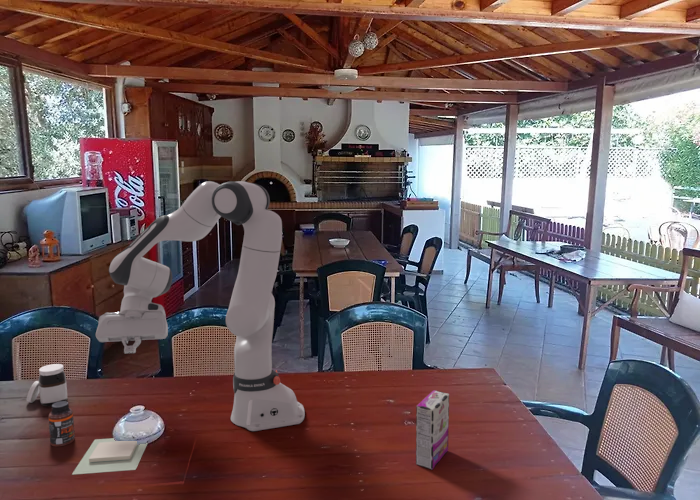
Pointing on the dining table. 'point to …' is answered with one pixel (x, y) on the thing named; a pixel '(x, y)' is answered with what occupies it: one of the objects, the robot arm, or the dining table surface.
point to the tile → (113, 451)
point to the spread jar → (49, 385)
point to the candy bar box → (432, 429)
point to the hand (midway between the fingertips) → (129, 352)
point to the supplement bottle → (61, 424)
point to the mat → (108, 466)
